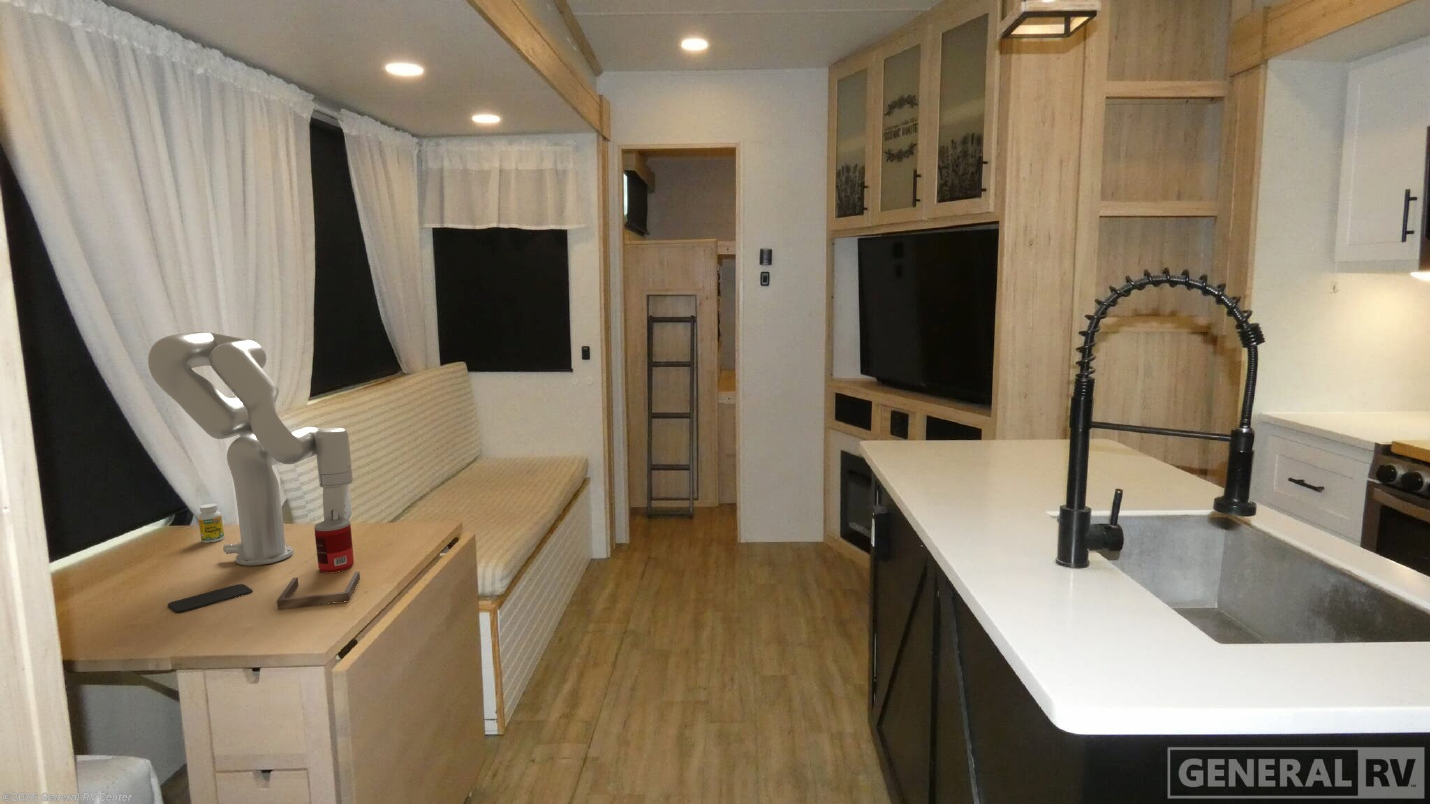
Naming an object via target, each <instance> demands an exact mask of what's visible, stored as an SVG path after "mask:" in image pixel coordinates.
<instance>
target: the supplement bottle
mask: <svg viewBox="0 0 1430 804" xmlns="http://www.w3.org/2000/svg"><path fill="white" fill-rule="evenodd" d="M218 509H219V508H218V504H217V503H207V504H202V505H201V506H199V512H200V514H198V517H197V520H198V527H199V534H200V535H199V536H200V539H201V542H202V543H203V544H209V543H210V542H211V543H217V542H219V541H222V540H223V539H225V532H224V524H223V516H222V515H223V514H222V513H221V512H220V511H218Z"/></svg>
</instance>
